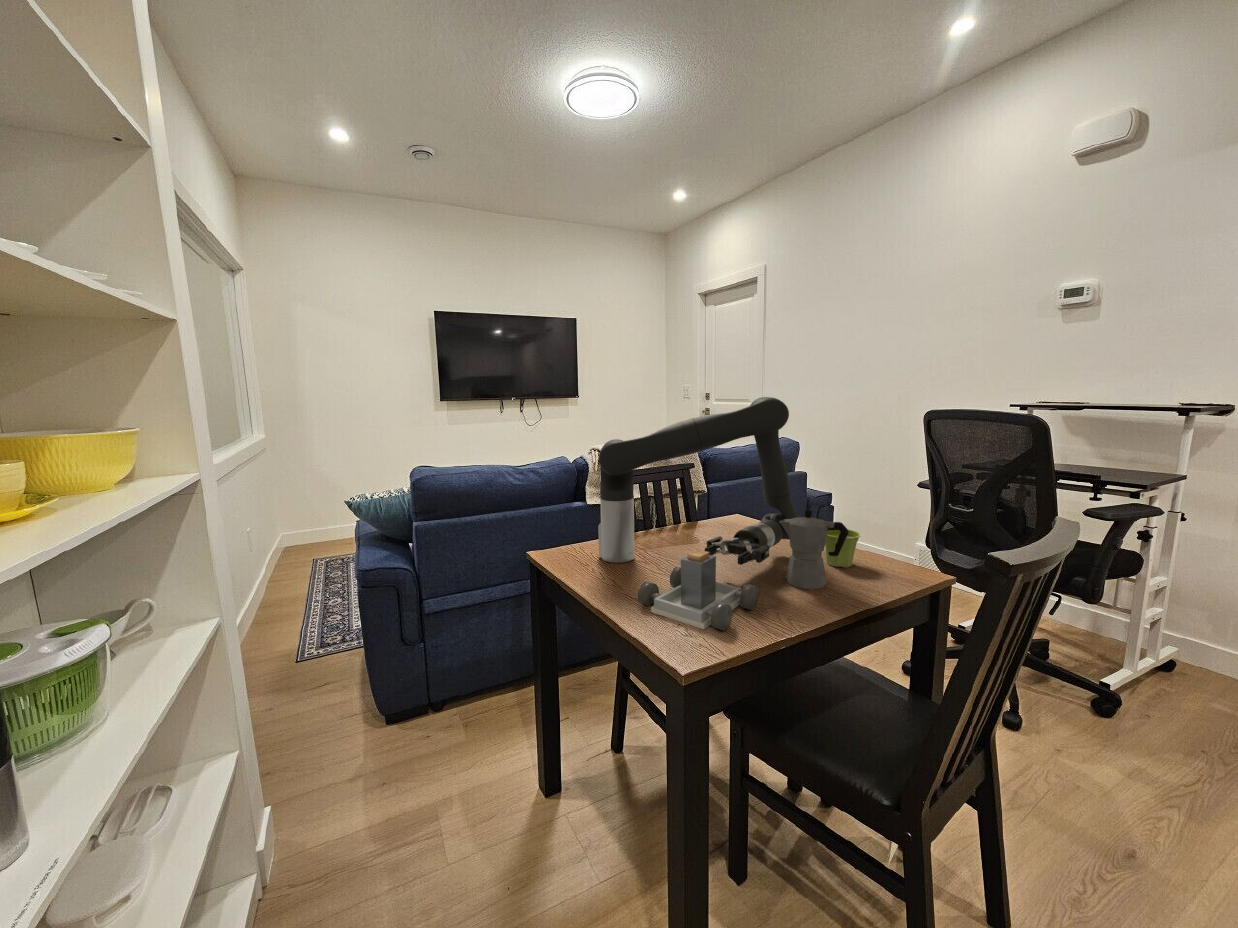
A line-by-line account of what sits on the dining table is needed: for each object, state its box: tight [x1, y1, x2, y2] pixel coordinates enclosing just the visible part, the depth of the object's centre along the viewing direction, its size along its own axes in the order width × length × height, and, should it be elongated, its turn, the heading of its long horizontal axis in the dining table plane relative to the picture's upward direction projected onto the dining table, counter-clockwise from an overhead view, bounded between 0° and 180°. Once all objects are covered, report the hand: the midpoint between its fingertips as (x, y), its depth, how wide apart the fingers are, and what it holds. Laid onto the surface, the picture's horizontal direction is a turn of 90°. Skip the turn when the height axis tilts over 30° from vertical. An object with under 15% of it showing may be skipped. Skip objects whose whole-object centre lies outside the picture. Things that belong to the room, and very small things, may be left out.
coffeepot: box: [779, 509, 848, 590], centre depth 122 cm, size 15×9×18 cm, turn 65°
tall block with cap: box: [680, 549, 717, 610], centre depth 110 cm, size 5×6×11 cm
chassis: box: [637, 566, 760, 632], centre depth 111 cm, size 20×17×5 cm
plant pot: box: [824, 528, 861, 569], centre depth 136 cm, size 9×9×9 cm
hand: (722, 556), depth 118 cm, fingers open, 8 cm apart
